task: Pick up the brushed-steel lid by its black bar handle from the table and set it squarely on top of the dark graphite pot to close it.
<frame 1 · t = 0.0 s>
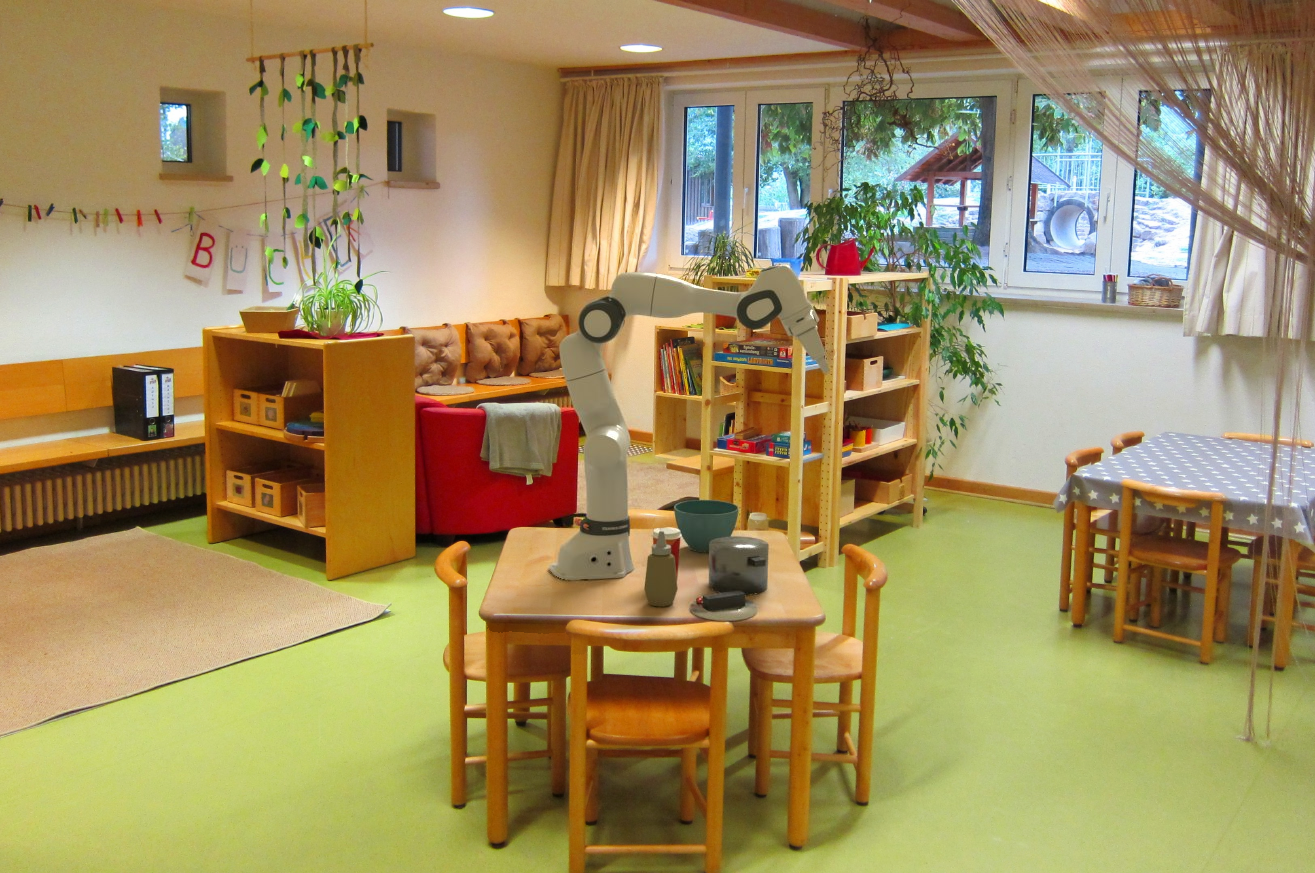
hand: (825, 370, 296), 54 cm above the table, tool tilted 30°, fingers open, 8 cm apart
pot: (737, 585, 296), on the table
squeeze bottle: (660, 604, 281), on the table
paper cup: (666, 584, 297), on the table
teal bowl: (705, 549, 329), on the table
lid: (723, 611, 277), on the table
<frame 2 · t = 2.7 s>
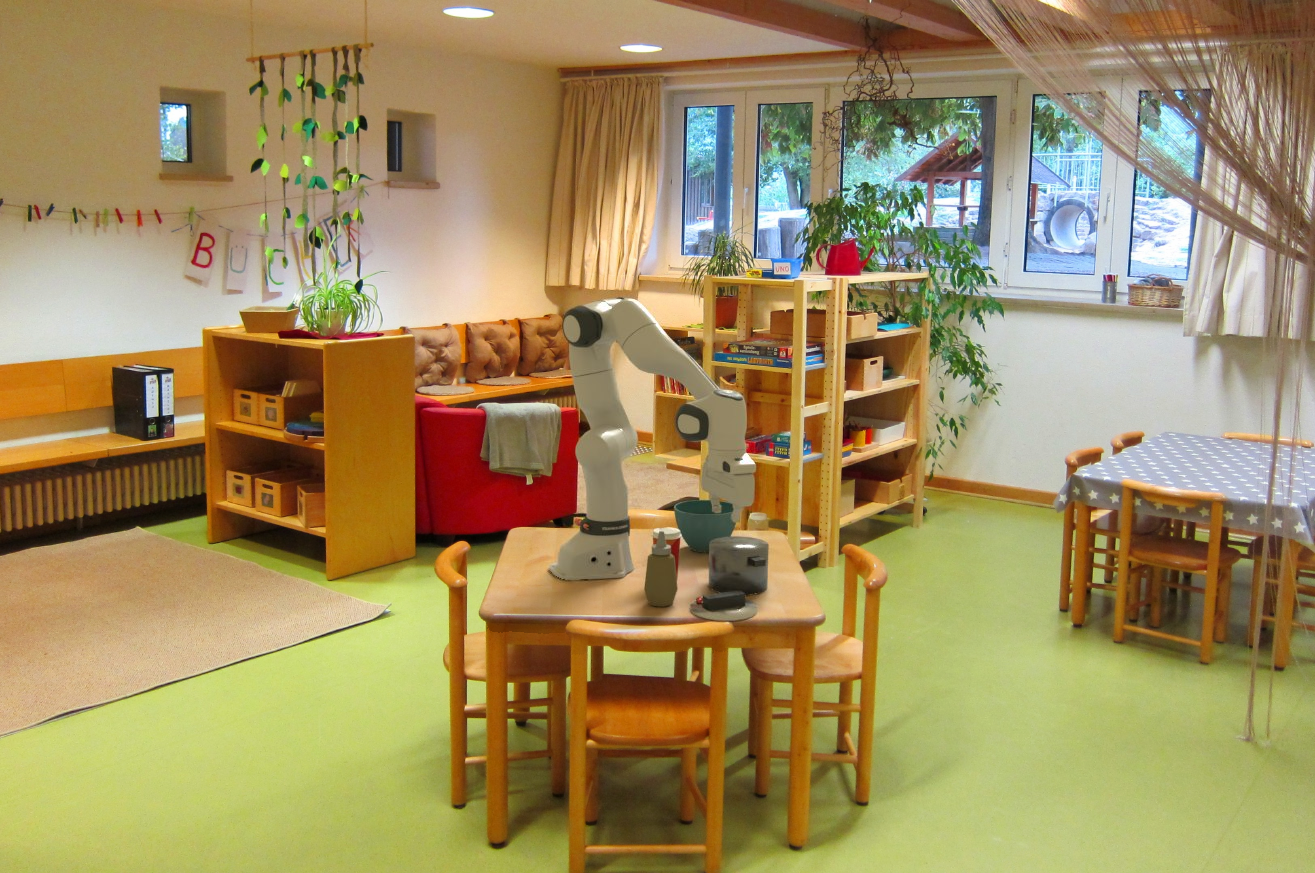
hand: (725, 517, 273), 23 cm above the table, tool pointing down, fingers open, 8 cm apart
nothing on the table moved.
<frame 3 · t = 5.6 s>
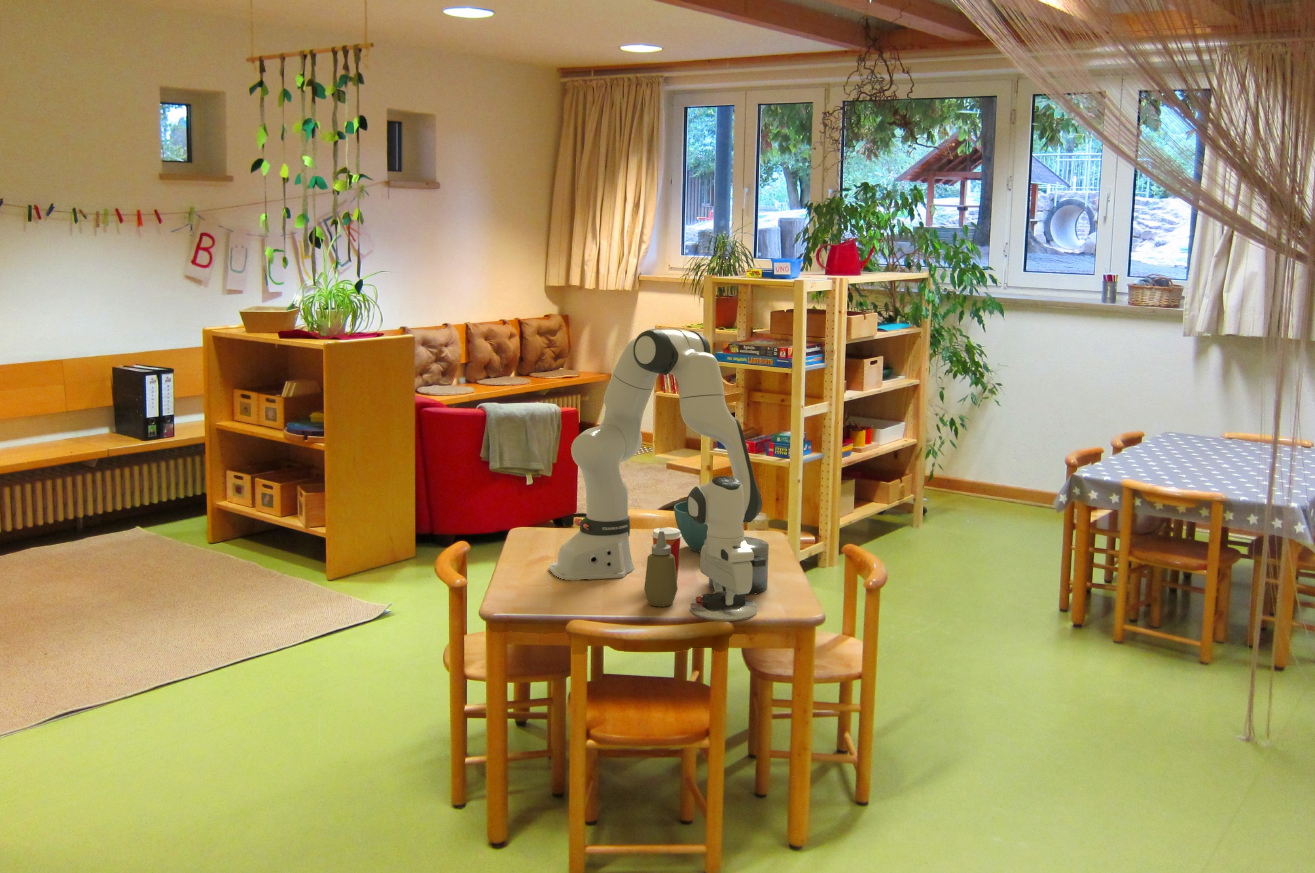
hand: (723, 601, 277), 2 cm above the table, tool pointing down, fingers closed on lid, 3 cm apart
lid: (723, 610, 277), on the table, touching gripper
everything else where it was.
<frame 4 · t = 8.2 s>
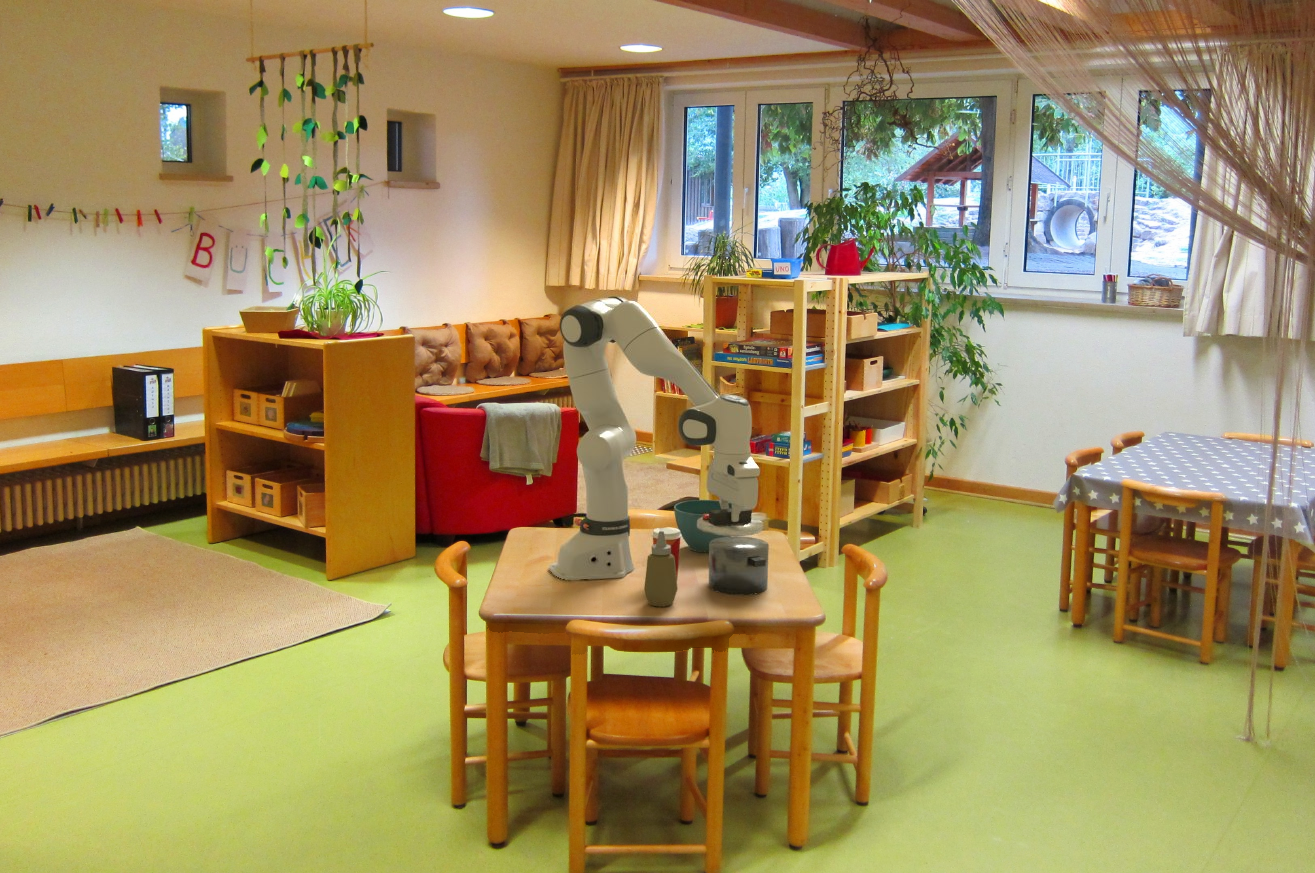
hand: (729, 518, 281), 21 cm above the table, tool pointing down, fingers closed on lid, 3 cm apart
lid: (729, 527, 281), point 18 cm above the table, touching gripper
everything else where it was.
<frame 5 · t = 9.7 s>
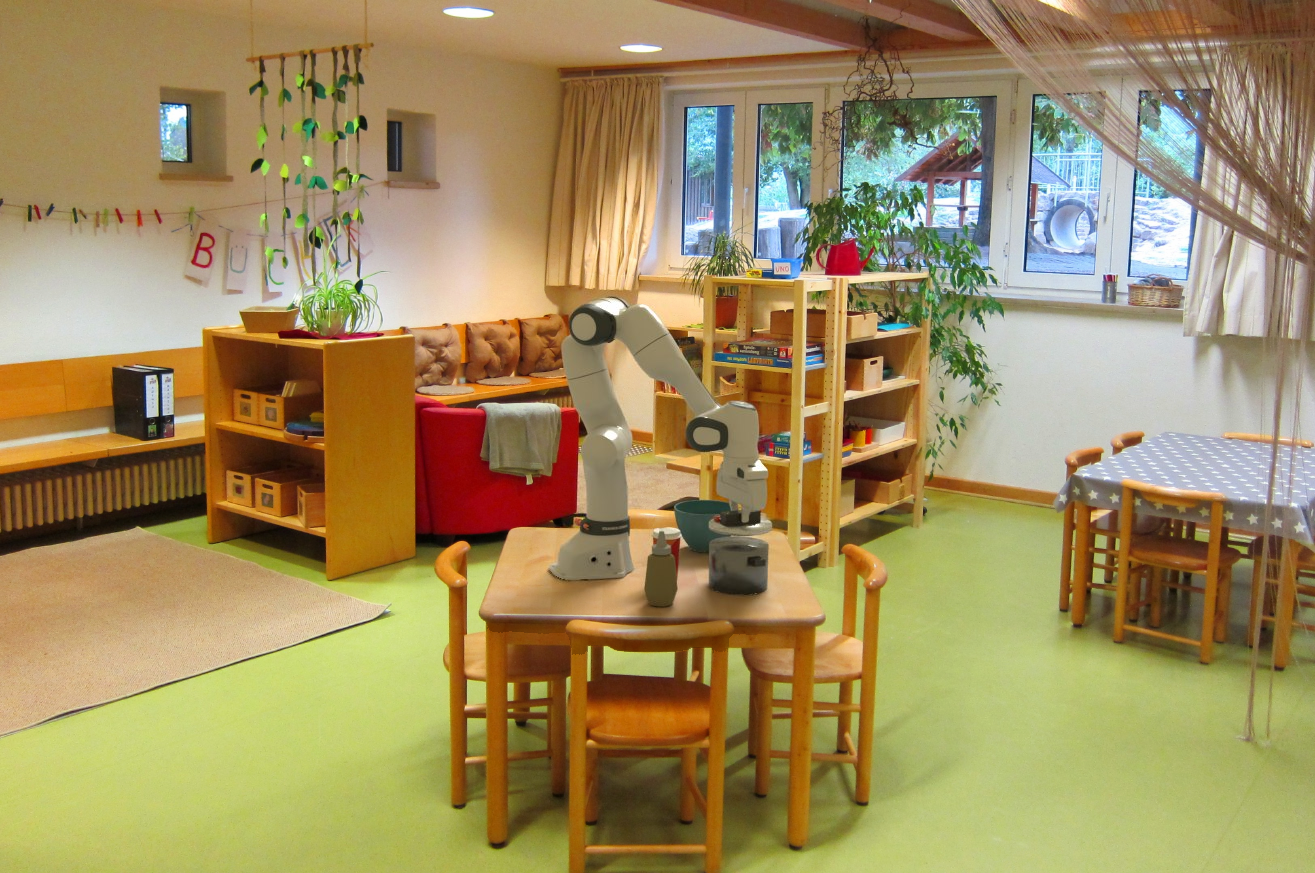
hand: (739, 519, 293), 17 cm above the table, tool pointing down, fingers closed on lid, 3 cm apart
lid: (740, 527, 293), point 15 cm above the table, touching gripper
everything else where it was.
when the fingers open (14 cm above the table, at t = 10.8 s): lid drops 1 cm, resting on pot.
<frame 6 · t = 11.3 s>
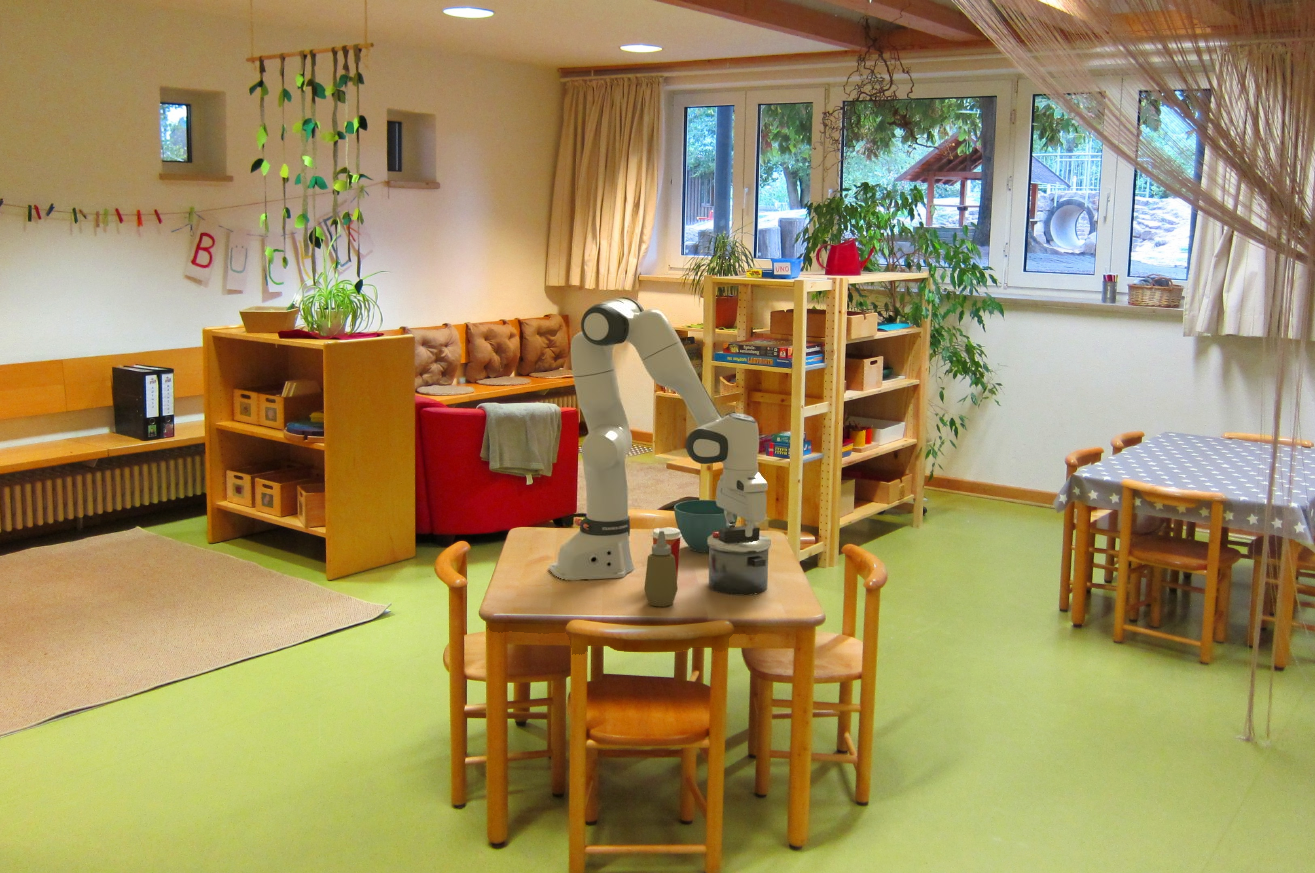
hand: (739, 531, 293), 14 cm above the table, tool pointing down, fingers open, 8 cm apart
lid: (739, 544, 294), point 11 cm above the table, touching pot
everything else where it was.
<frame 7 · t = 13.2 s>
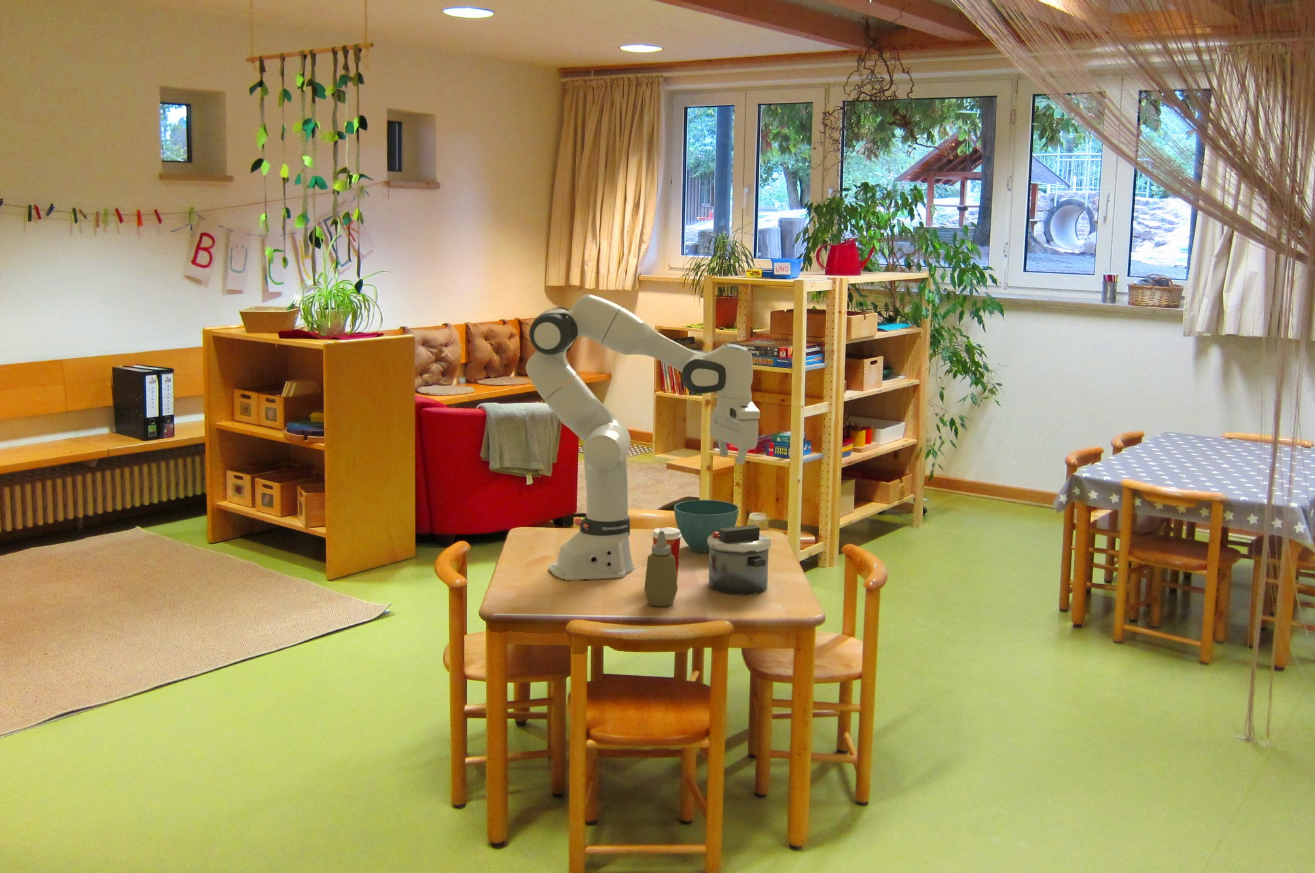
hand: (731, 460, 300), 31 cm above the table, tool pointing down, fingers open, 8 cm apart
nothing on the table moved.
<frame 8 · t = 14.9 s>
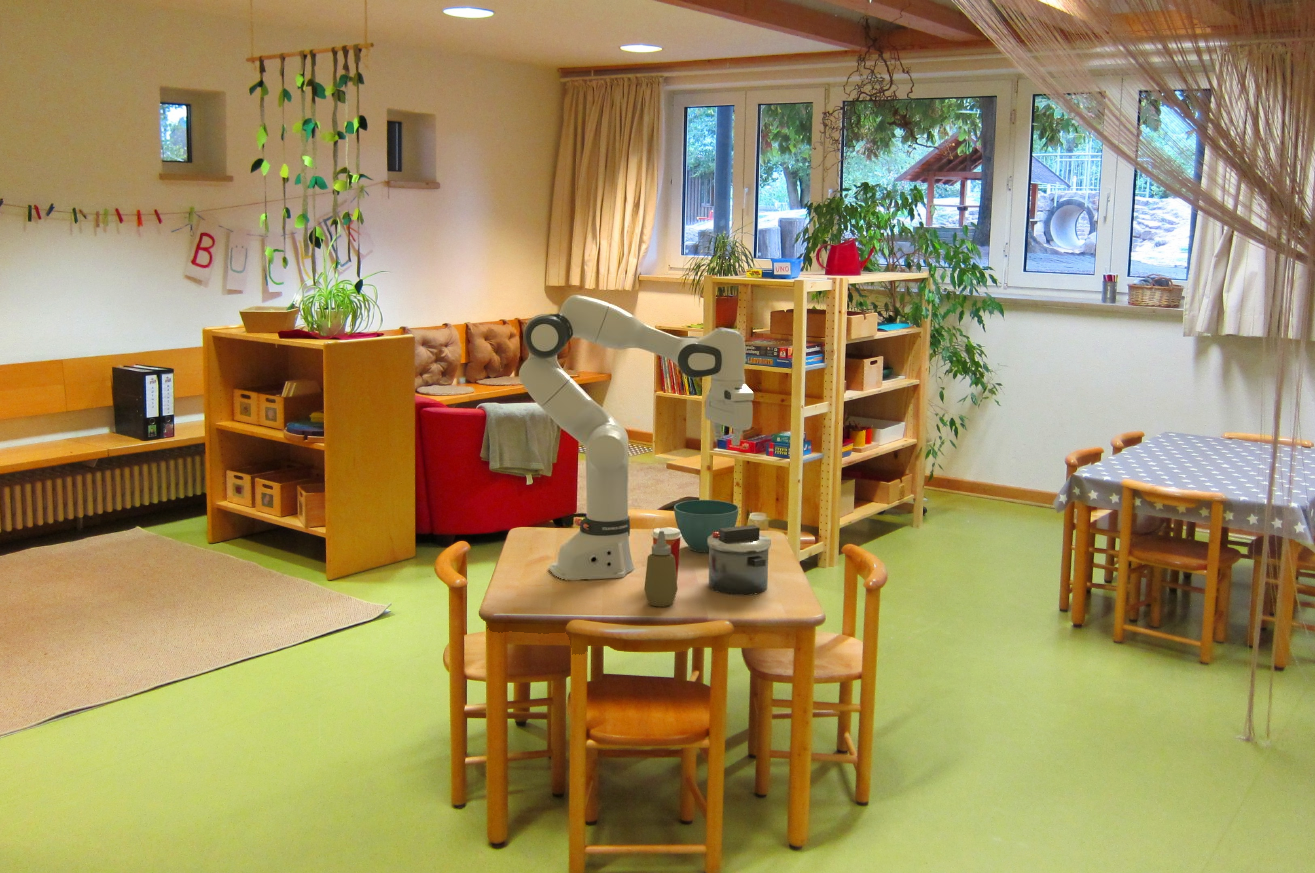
hand: (726, 441, 307), 34 cm above the table, tool pointing down, fingers open, 8 cm apart
nothing on the table moved.
at the end: lid 0.1 cm off-centre on the pot, point 11.0 cm above the pot's base; lid tilted 0°; the gripper is holding nothing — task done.
